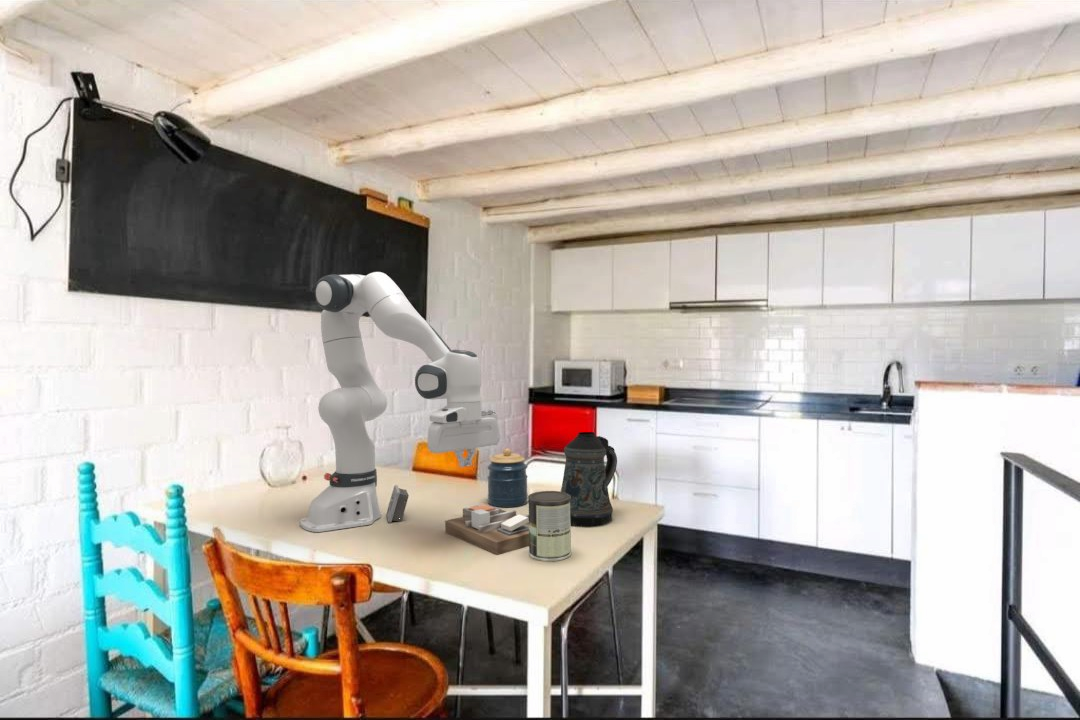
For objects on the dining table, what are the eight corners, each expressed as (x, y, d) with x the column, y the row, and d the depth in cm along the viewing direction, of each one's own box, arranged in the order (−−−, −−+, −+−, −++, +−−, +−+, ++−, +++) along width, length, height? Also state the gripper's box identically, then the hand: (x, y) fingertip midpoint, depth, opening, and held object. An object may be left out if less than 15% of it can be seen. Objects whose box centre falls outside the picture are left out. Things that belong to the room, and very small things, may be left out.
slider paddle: (480, 529, 149) (480, 514, 149) (471, 526, 152) (471, 511, 152) (489, 527, 151) (489, 512, 151) (481, 524, 154) (480, 509, 154)
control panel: (496, 554, 140) (496, 532, 140) (445, 531, 158) (445, 511, 158) (553, 538, 151) (552, 517, 151) (498, 518, 170) (498, 500, 170)
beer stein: (546, 523, 165) (545, 435, 165) (573, 506, 183) (572, 427, 182) (601, 530, 158) (600, 438, 158) (623, 512, 176) (623, 429, 175)
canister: (502, 495, 197) (502, 444, 197) (535, 500, 190) (534, 446, 190) (479, 504, 186) (478, 449, 186) (513, 510, 179) (512, 453, 179)
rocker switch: (510, 531, 146) (510, 526, 146) (501, 527, 149) (500, 523, 149) (529, 521, 149) (528, 517, 149) (519, 518, 153) (518, 514, 152)
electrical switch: (386, 515, 175) (388, 484, 175) (403, 515, 177) (406, 484, 177) (388, 524, 166) (390, 491, 166) (406, 523, 168) (409, 491, 168)
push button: (479, 520, 157) (479, 511, 157) (469, 516, 161) (469, 507, 161) (494, 517, 160) (494, 508, 160) (484, 513, 164) (484, 504, 164)
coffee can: (519, 555, 139) (519, 496, 139) (546, 544, 147) (546, 488, 147) (553, 565, 133) (553, 503, 133) (579, 552, 141) (579, 494, 141)
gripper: (489, 408, 159) (490, 459, 159) (423, 415, 146) (424, 470, 146) (503, 410, 154) (504, 462, 154) (437, 417, 141) (438, 473, 141)
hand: (465, 466), depth 150 cm, fingers closed
